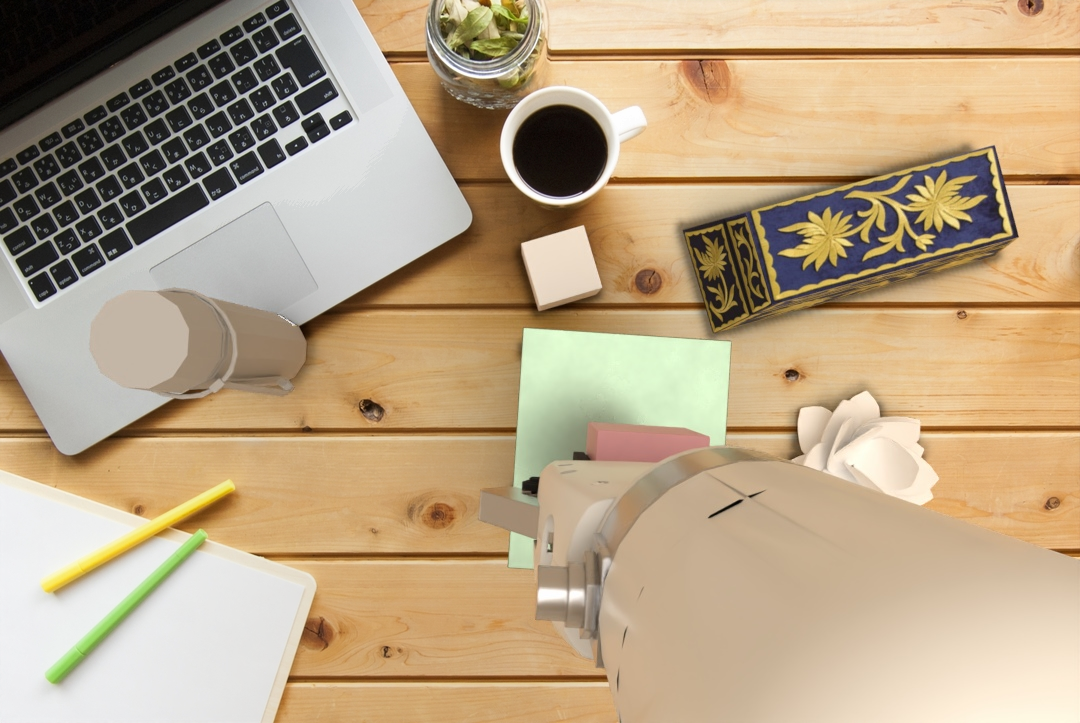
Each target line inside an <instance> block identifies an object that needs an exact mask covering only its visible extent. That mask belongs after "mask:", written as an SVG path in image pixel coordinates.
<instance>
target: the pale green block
mask: <svg viewBox="0 0 1080 723" xmlns="http://www.w3.org/2000/svg"><path fill="white" fill-rule="evenodd" d="M732 344H733V343H732V340H728V339H727V340H725V339H709V338H696V337H695V338H694V337H682V336H681V337H680V336H679V337H678V336H664V335H663V336H662V335H651V334H650V335H649V334H633V333H618V332H603V331H587V330H571V329H557V328H543V327H541V328H539V327H526V326H525V327H523V328H522V337H521V351H520V354H521V355H520V367H519V369H520V370H519V384H518V399H517V415H516V416H517V417H516V429H515V443H514V444H515V445H514V446H515V447H514V448H515V449H514V462H513V478H512V486H513V487H517V488H521V489H522V482H523V481H526V480H529V478H530V477H540V474H541V472H542V471H543V469H544V468H545V467H546V466H547V465H549V464H550V463H552V462H553V461H556V460H573V452H584V453H585V454H586V447H587V430H588V422H598V423H614V424H631V425H647V426H664V427H681V428H687V429H690V430H692V431H695V432H698V433H701V434H704V435H706V436H709V437H710V446H717V445H727V444H726V443H727V442H726V441H727V431H728V430H727V427H728V410H729V396H730V394H729V393H730V379H731V378H730V377H731V363H732V362H731V359H732V358H731V357H732V346H733V345H732ZM534 540H536V539H533V538H530V537H527V536H524V535H521V534H518V533H515V532H512V531H509V539H508V555H507V569H517V570H531V571H532V570H533V571H534V567H533V541H534ZM548 549H550V544H548Z"/></svg>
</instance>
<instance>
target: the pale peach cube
mask: <svg viewBox="0 0 1080 723" xmlns="http://www.w3.org/2000/svg"><path fill="white" fill-rule="evenodd" d="M520 248H521V257H522V260H523V264H524V266H525V270H526V274H527V277H528V281H529V284H530V287H531V290H532V293H533V298H534V300H535V304H536V308H537V310H538V312H542V311H545V310H549V309H551V308H552V309H553V308H556V307H560V306H563V305H566V304H569V303H573V302H577V301H580V300H582V299H586V298H589V297H593V296H596V295H597V294H599V292H600V291H601V290H602V289H603V285H602V282H601V278H600V275H599V272H598V268H597V265H596V262H595V258H594V255H593V252H592V247H591V244H590V241H589V237H588V234H587V231H586V227H585V225H584V224H583V225H579V226H576V227H573V228H569V229H566V230H562V231H559V232H556V233H551V234H547V235H544V236H542V237H538V238H535V239H531V240H528V241H525V242H521V243H520Z"/></svg>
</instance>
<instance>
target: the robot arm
mask: <svg viewBox="0 0 1080 723" xmlns="http://www.w3.org/2000/svg"><path fill="white" fill-rule="evenodd" d="M790 460H791V459H787V458H783V457H781V456H778V455H774V454H771V453H768V452H765V451H762V450H759V449H756V448H749V447H745V446H740V445H727V444H726V445H717V446H708V447H701V448H694V449H690V450H686V451H683V452H680V453H677V454H675V455H672V456H669V457H667V458H665V459H664V460H662V461H660V462H658V463H653V462H628V461H591V460H590V458H589V457H588V455H586V454H585V453H584V452H573V460H556V461H553V462H552V463H550V464H549V465H547V466H546V467H545V468H544V469H543V471H542V472H541V474H540V477H530V478H529V480H526V481H523V482H522V489H521V488H517V487H513V485H512V486H501V487H500V486H499V487H484V488H480V489H479V497H478V498H479V500H478V503H479V504H478V516H477V520H478V521H480V522H483V523H486V524H488V525H491V526H494V527H498V528H500V529H503V530H507V531H509V532H510V531H512V532H515V533H518V534H521V535H524V536H527V537H530V538H533V539H536V540H534V541H533V567H534V570H533V578H534V583H535V584H534V585H535V602H534V621H547V622H550V623H551V625H552V627H553V628H554V630H555V631H556V632H557V634H559V636H560V637H561V638H562V639H563V641H564V642H565V643H566V644H567V645H568V646H570V647H571V648H572V649H573V651H575V652H576V653H577V654H578V655H579V656H581V657H583V658H585V659H587V660H591V661H593V662H594V666H595V668H596V669H604V671H605V675H606V678H607V682H608V686H609V689H610V690H609V691H610V694H611V697H612V701H613V705H614V708H615V712H616V717H617V721H618V723H1080V559H1079V558H1076V557H1074V556H1070V555H1067V554H1064V553H1061V552H1058V551H1055V550H1052V549H1050V548H1048V547H1047V548H1046V547H1044V546H1041V545H1038V544H1035V543H1033V542H1030V541H1026V540H1023V539H1020V538H1017V537H1015V536H1011V535H1008V534H1005V533H1003V532H999V531H997V530H993V529H990V528H988V527H985V526H983V525H979V524H977V523H973V522H970V521H967V520H964V519H961V518H958V517H955V516H953V515H950V514H946V513H943V512H941V511H938V510H935V509H932V508H929V507H927V506H924V505H921V506H920V505H917V504H914V503H911V502H909V501H906V500H903V499H900V498H897V497H894V496H891V495H888V494H885V493H882V492H879V491H876V490H873V489H871V488H868V487H865V486H862V485H859V484H856V483H853V482H850V481H847V480H845V479H842V478H839V477H836V476H833V475H830V474H827V473H824V472H822V471H819V470H816V469H813V468H810V467H807V466H804V465H801V464H798V463H796V462H793V461H790ZM548 544H550V549H548Z"/></svg>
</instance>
